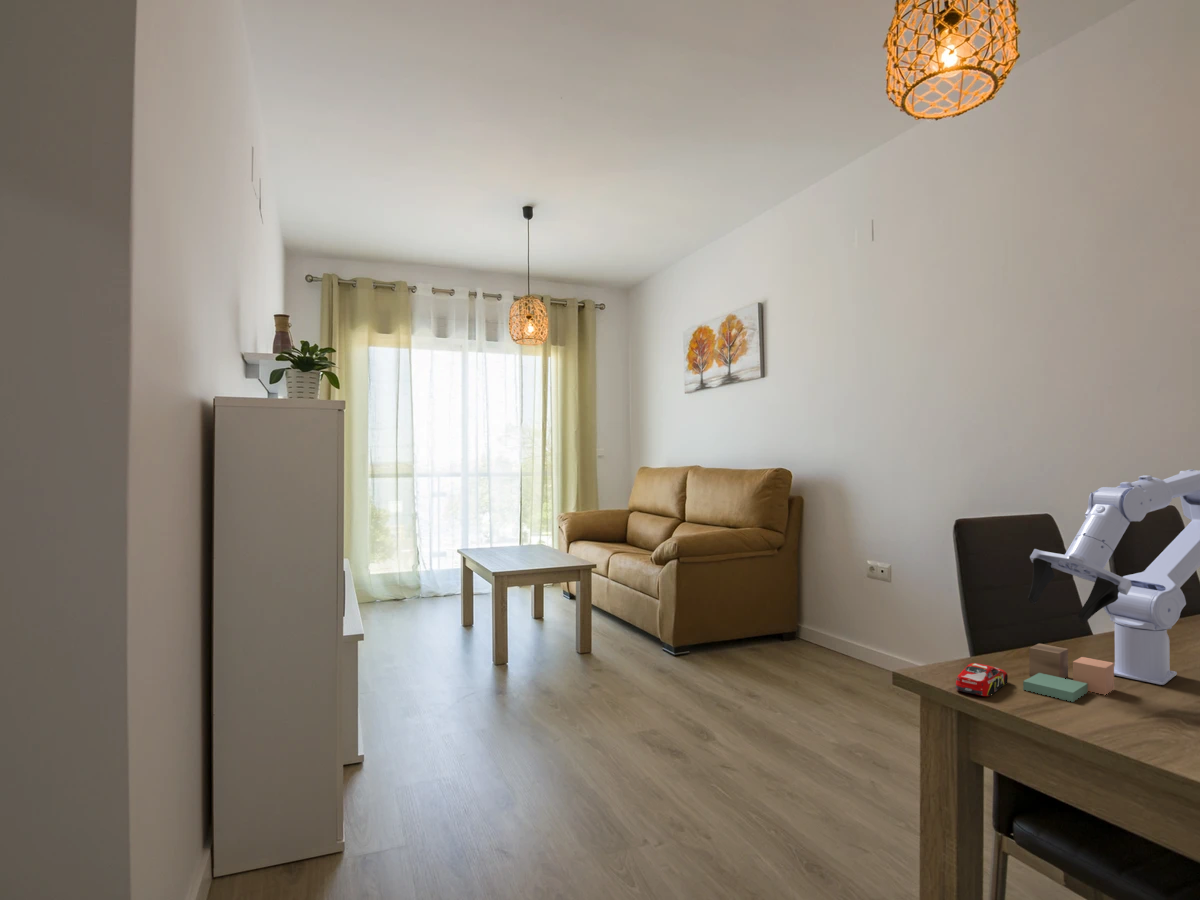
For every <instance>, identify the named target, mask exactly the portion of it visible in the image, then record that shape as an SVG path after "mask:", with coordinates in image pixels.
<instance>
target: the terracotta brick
mask: <svg viewBox="0 0 1200 900" xmlns="http://www.w3.org/2000/svg"><path fill="white" fill-rule="evenodd" d="M1114 666H1115V662H1111V661H1106V660H1101V659H1095V658H1090V657H1085V656H1081V657H1079V658H1077V659H1075V660H1073V661H1072V680H1074V681H1079V682H1083V683H1088V691H1091V692H1090V693H1092V692H1095V693H1094V694H1096V693H1099V694H1098V695H1100V694H1105V695H1106V694H1107V695H1109V694H1110V693H1111V692H1110V691H1112V690H1113V689H1114V690H1115V675H1114ZM1114 690H1113V691H1114ZM1113 691H1112V692H1113ZM1109 692H1110V693H1109ZM1108 693H1109V694H1108ZM1105 695H1104V696H1105ZM1107 695H1106V696H1107Z"/></svg>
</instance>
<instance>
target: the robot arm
mask: <svg viewBox="0 0 1200 900" xmlns="http://www.w3.org/2000/svg"><path fill="white" fill-rule="evenodd" d="M1176 498H1180V502H1181V508H1182V513H1183V516H1184V517H1186V518H1187V519H1189V520H1190V522H1189V523H1188V524H1187V525H1186V526H1185V527H1184V529H1183V530H1182V531H1180V533H1178V535H1177V536H1175V538H1174V539H1173V540H1172V541H1171V542H1170V543H1169V544H1168V545H1167V546H1166V547H1165V548H1164V549H1163V551H1162V552H1161V553H1160V554H1159V555H1158V556H1157V557H1156V558H1154V560H1153V561H1152V562H1151V563H1150V564H1149V565H1148V566H1147V567H1146V568H1145V570H1143V571H1141V572H1136V573H1133V574H1127V575H1123V576H1120V575H1118V574H1116V573H1114V572H1112V571H1110V570H1107V569H1105V568H1106V566H1107V564H1108V562H1109V560H1110V559H1111V556H1112V555H1113V554H1114V552H1115V549H1116V548H1117V546H1118V545H1119V543H1120V541H1121V539H1122V538H1123V535H1124V534H1125V533H1126V530H1127V529H1128V528H1129V525H1130V523H1131V522H1141V521H1143V520H1144V518H1145V517H1146V515H1147V514H1148V513H1151V512H1155V511H1157V510H1161V509H1165V508H1166V507H1168V506H1169V505H1170V504H1171V503H1172V501H1173V499H1176ZM1087 504H1088V505H1087V509H1086V512H1085V513H1084V521H1083V523H1082V525H1081V526H1080V528H1079V529H1078V531H1077V533H1076V535H1075V537H1074V538H1073V539H1072V542H1071V544H1070V545H1069V547H1068V548H1067V550H1066V552H1065V553H1064V554H1062V553H1056V552H1050V551H1045V550H1040V549H1037V548H1034V549H1033V551H1032V553H1031V554H1030V555H1029V559H1030V561H1031V563H1032V569H1033V571H1032V582H1031V587H1030V590H1029V594H1028V596H1027V599H1028V602H1030V604H1032V605H1036V603H1037V602H1038V601H1039V600H1040V597H1041V595H1042V594H1043V592H1044V590H1045V589H1046V587H1047V586H1048V585H1049V584H1050V582H1052V580H1053V579H1055V572H1054V571H1053V569H1054V570H1057V571H1060V572H1063V573H1066V574H1069V575H1072V576H1074V577H1078V578H1080V579H1082V580H1085V581H1089V582H1092V583H1094V584H1093V587H1092V589H1091V592H1090V594H1089V596H1088V598H1087V599H1086V601H1085V603H1084V605H1083V606H1082V608H1081V609H1080V611H1079V613H1078V615H1077V618H1078V620H1079V623H1080V624H1081V623H1082V624H1083V625H1085V624H1086V623H1087V621H1089V620H1090V619H1091V618H1092V617H1093V615H1095V614H1096V613H1097V612H1098V611H1100V610H1102V609H1103V610H1104V611H1105V613H1106V614H1107V615H1108V616H1109V621H1110V622H1113V623H1114V676H1116V677H1121V678H1125V679H1131V680H1135V681H1140V682H1146V683H1151V684H1154V685H1155V684H1156V685H1159V686H1161V685H1162V686H1164V685H1166V684H1167V683H1168V682H1169V681H1170V680H1172V679H1173V678H1174V677H1175V676H1176V675H1178V673H1177V671H1174V670H1171V669H1170V663H1171V662H1170V660H1171V659H1170V637H1169V635H1168V630H1171V629H1172V627H1173V626H1175V624H1176V623H1177V621H1178V620H1179V619H1180V616H1181V612H1182V610H1183V609H1184V607H1185V606H1186V605H1187V601H1186V596H1185V594H1184V593H1183V590H1182V589H1181V587H1182V586H1183V585H1184V584H1185V583H1186V582H1187V581H1188V580H1189V579H1190V577H1191V576H1192V575H1194V574H1195V572H1196V571H1197V570H1198V569H1199V568H1200V469H1199V470H1197V469H1194V468H1193V469H1187V470H1180V471H1179V473H1177V474H1174V475H1172V476H1169V477H1167V478H1164V479H1161V478H1158V477H1153V476H1152V475H1146V474H1145V475H1140V476H1138V480H1136V481H1132V482H1131V481H1123V482H1120V483H1119V485H1117V486H1115V487H1113V486H1111V487H1110V486H1102V487H1099V488H1098V489H1097V490H1094V491H1093V492H1090V494H1089V496H1088V501H1087Z"/></svg>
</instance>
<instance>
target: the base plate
mask: <svg viewBox="0 0 1200 900" xmlns="http://www.w3.org/2000/svg"><path fill="white" fill-rule="evenodd" d="M1022 685H1023V686H1022V691H1024V690H1026V691H1025V692H1028V691H1031V692H1030V693H1033V692H1035V693H1034V694H1037V693H1038V694H1037V695H1041V694H1042V696H1045V695H1047V696H1046V697H1049V696H1051V697H1050V698H1053V697H1055V698H1054V699H1057V698H1059V699H1058V700H1061V701H1062V700H1063V701H1066V700H1067V702H1070V701H1071V702H1070V703H1074V702H1075V700H1076V701H1077V700H1079V699H1081V698H1082V697H1084V696H1085V695H1087V694H1088V693H1089V692H1088V683H1083V682H1079V681H1074V680H1073V679H1069V678H1066V679H1065V678H1061V677H1056V676H1052V675H1047V674H1042V673H1038V674H1036V675H1034V676H1029V678H1027V679H1024V680H1023V682H1022ZM1087 692H1088V693H1087ZM1084 694H1085V695H1084ZM1081 696H1082V697H1081ZM1078 698H1079V699H1078Z"/></svg>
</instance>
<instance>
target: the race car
mask: <svg viewBox="0 0 1200 900" xmlns="http://www.w3.org/2000/svg"><path fill="white" fill-rule="evenodd" d="M1008 676H1009V675H1008V673H1007V672H1006V670H1004V669H1001V668H999V667H996V666H993V665H992V666H990V665H987V664H982V663H977V662H976V663H975V662H972V663H971V662H970V663H969V664H966V666H965V667H964V669H963V670H961V672H960V673H959V674H957V676H956V680H955V690H956V691H959V692H962V693H967V694H968V693H969V694H972V695H976V696H982V697H990V696H991V694H993V695H994V693H996V692H997V691H999V690H1000V689H1002V687H1004V686H1006V685H1007V684H1008V679H1009V678H1008ZM1006 683H1007V684H1006ZM1005 684H1006V685H1005ZM991 697H992V696H991Z"/></svg>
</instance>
